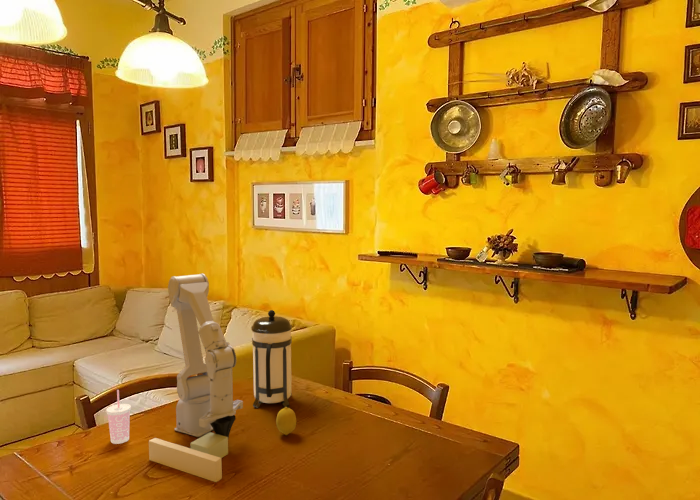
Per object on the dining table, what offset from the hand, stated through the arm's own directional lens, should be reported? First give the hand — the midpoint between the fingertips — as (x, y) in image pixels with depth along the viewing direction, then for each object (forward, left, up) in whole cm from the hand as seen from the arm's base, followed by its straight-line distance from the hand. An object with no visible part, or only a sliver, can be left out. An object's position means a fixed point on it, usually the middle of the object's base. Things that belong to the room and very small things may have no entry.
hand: (222, 443), depth 139 cm
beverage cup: (-28, -9, -2) cm, 30 cm away
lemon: (+10, +15, -2) cm, 18 cm away
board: (-1, -12, -1) cm, 13 cm away
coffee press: (-7, +32, -2) cm, 32 cm away
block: (0, -5, -1) cm, 5 cm away
